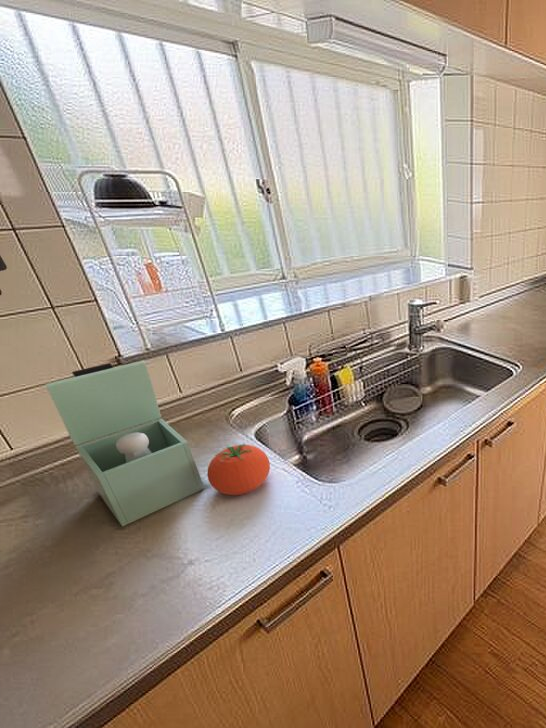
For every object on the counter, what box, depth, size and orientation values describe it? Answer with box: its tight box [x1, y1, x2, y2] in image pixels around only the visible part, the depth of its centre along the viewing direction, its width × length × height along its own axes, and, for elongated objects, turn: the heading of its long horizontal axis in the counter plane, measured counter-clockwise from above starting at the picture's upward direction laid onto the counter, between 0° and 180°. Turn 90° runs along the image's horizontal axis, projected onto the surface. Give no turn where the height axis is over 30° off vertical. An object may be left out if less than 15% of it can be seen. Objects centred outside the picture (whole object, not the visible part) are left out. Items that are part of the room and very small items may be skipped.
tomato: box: [206, 443, 271, 496], centre depth 81 cm, size 10×10×10 cm
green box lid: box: [44, 360, 162, 447], centre depth 75 cm, size 13×13×5 cm
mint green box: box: [75, 418, 205, 527], centre depth 78 cm, size 13×13×12 cm
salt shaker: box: [116, 432, 152, 463], centre depth 77 cm, size 6×6×13 cm
